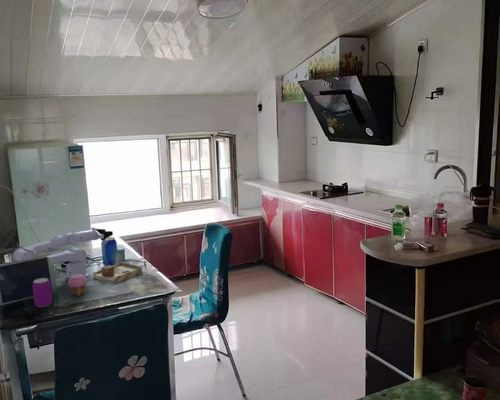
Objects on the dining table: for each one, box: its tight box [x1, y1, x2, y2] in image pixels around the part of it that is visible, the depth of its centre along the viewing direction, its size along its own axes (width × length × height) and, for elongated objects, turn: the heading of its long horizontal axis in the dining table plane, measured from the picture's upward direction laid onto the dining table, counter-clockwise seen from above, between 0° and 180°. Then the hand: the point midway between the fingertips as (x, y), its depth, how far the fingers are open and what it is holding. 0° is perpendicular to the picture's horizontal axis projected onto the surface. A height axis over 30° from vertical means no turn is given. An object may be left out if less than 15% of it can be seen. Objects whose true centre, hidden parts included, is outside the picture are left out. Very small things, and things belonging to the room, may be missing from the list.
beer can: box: [101, 236, 118, 267], centre depth 286 cm, size 8×8×16 cm
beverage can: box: [32, 277, 53, 308], centre depth 232 cm, size 8×8×12 cm
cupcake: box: [67, 274, 88, 297], centre depth 244 cm, size 9×9×10 cm
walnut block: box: [101, 265, 115, 277], centre depth 265 cm, size 4×4×4 cm
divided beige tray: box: [92, 261, 143, 285], centre depth 270 cm, size 20×16×4 cm
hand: (108, 232), depth 280 cm, fingers open, 7 cm apart
